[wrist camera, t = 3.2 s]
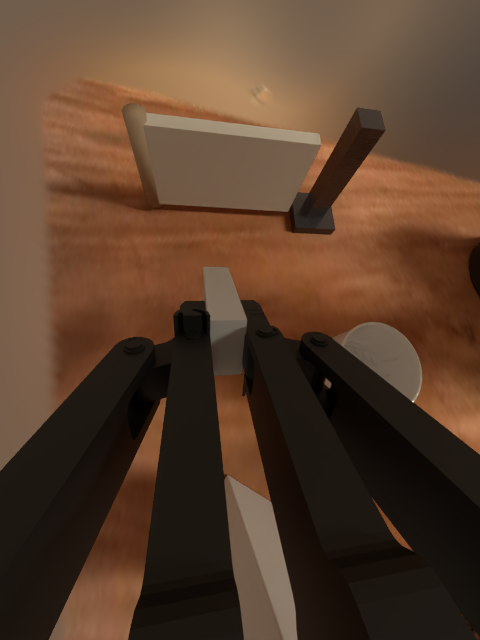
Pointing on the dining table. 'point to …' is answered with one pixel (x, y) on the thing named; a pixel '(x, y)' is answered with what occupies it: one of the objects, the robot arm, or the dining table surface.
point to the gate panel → (218, 161)
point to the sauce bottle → (476, 635)
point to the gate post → (336, 173)
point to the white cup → (385, 355)
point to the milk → (259, 566)
